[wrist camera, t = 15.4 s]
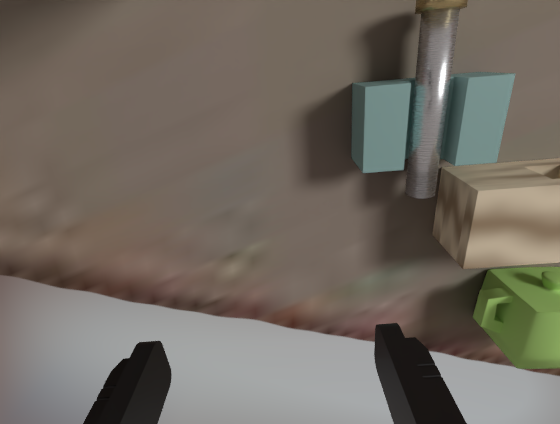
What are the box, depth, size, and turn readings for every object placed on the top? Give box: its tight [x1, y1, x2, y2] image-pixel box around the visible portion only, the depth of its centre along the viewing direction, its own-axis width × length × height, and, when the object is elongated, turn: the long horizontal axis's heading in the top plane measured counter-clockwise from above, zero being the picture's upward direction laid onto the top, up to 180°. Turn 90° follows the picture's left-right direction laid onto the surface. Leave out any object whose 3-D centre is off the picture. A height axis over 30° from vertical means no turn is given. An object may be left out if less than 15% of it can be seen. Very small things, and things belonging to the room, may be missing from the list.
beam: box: [432, 158, 560, 269], centre depth 35 cm, size 9×20×8 cm, turn 95°
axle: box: [405, 0, 468, 199], centre depth 31 cm, size 18×4×4 cm, turn 5°
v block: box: [351, 72, 515, 173], centre depth 32 cm, size 8×13×6 cm, turn 95°
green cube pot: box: [473, 267, 560, 369], centre depth 40 cm, size 18×10×10 cm, turn 91°
